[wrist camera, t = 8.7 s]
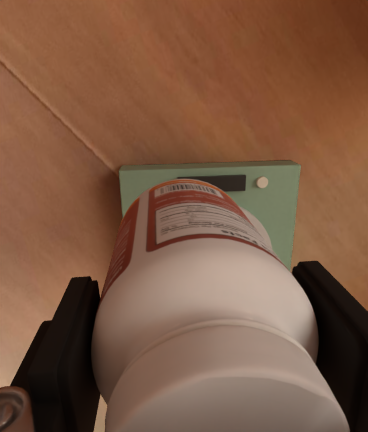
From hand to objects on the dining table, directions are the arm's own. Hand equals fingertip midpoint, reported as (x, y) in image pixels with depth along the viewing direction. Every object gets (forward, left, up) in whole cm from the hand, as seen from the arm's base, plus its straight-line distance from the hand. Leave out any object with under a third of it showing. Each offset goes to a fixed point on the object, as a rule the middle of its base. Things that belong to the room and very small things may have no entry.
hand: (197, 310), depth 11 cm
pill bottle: (0, 0, -6) cm, 6 cm away
